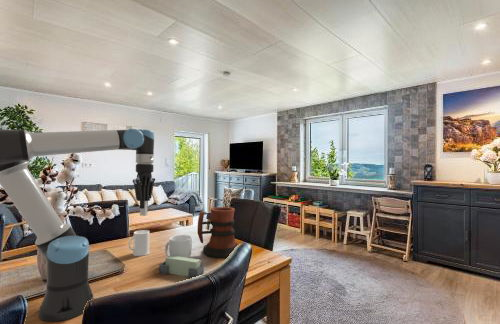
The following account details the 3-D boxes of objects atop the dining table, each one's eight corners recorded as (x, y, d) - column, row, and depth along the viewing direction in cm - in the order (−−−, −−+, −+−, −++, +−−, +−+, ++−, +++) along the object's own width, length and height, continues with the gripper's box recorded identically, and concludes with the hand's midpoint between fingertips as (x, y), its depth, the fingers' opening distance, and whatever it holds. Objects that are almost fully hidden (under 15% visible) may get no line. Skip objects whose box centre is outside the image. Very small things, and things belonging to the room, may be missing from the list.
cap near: (197, 279, 113) (197, 270, 113) (188, 278, 114) (188, 268, 114) (203, 273, 119) (203, 264, 119) (195, 272, 120) (195, 263, 120)
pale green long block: (196, 278, 114) (196, 262, 114) (165, 272, 119) (165, 257, 119) (199, 275, 118) (200, 259, 118) (169, 270, 123) (170, 255, 123)
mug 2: (157, 264, 129) (158, 238, 129) (172, 257, 139) (173, 232, 139) (182, 269, 123) (182, 242, 123) (195, 261, 133) (196, 236, 133)
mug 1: (132, 259, 135) (132, 236, 135) (123, 255, 140) (124, 233, 141) (152, 253, 145) (153, 231, 145) (144, 249, 150) (144, 229, 150)
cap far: (167, 274, 117) (167, 266, 117) (158, 273, 118) (159, 264, 118) (174, 269, 123) (174, 261, 123) (166, 268, 124) (166, 260, 124)
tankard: (245, 256, 142) (246, 211, 142) (199, 261, 134) (200, 213, 134) (235, 244, 163) (236, 205, 163) (195, 247, 155) (196, 206, 155)
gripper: (142, 163, 111) (141, 218, 111) (160, 163, 124) (159, 213, 124) (127, 163, 113) (126, 217, 113) (147, 163, 126) (145, 212, 126)
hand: (143, 215), depth 118 cm, fingers closed
